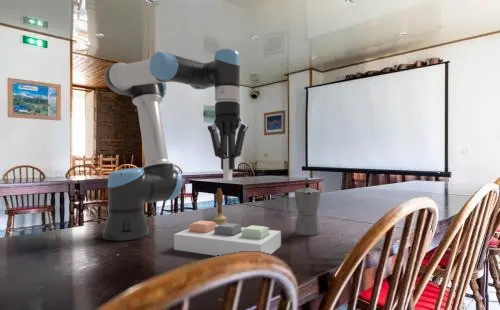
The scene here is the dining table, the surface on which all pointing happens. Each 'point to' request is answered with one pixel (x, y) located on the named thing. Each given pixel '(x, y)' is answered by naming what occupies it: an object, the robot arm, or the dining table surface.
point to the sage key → (255, 232)
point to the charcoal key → (228, 229)
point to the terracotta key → (202, 226)
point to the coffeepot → (307, 211)
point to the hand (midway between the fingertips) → (227, 180)
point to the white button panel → (224, 242)
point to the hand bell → (219, 208)
